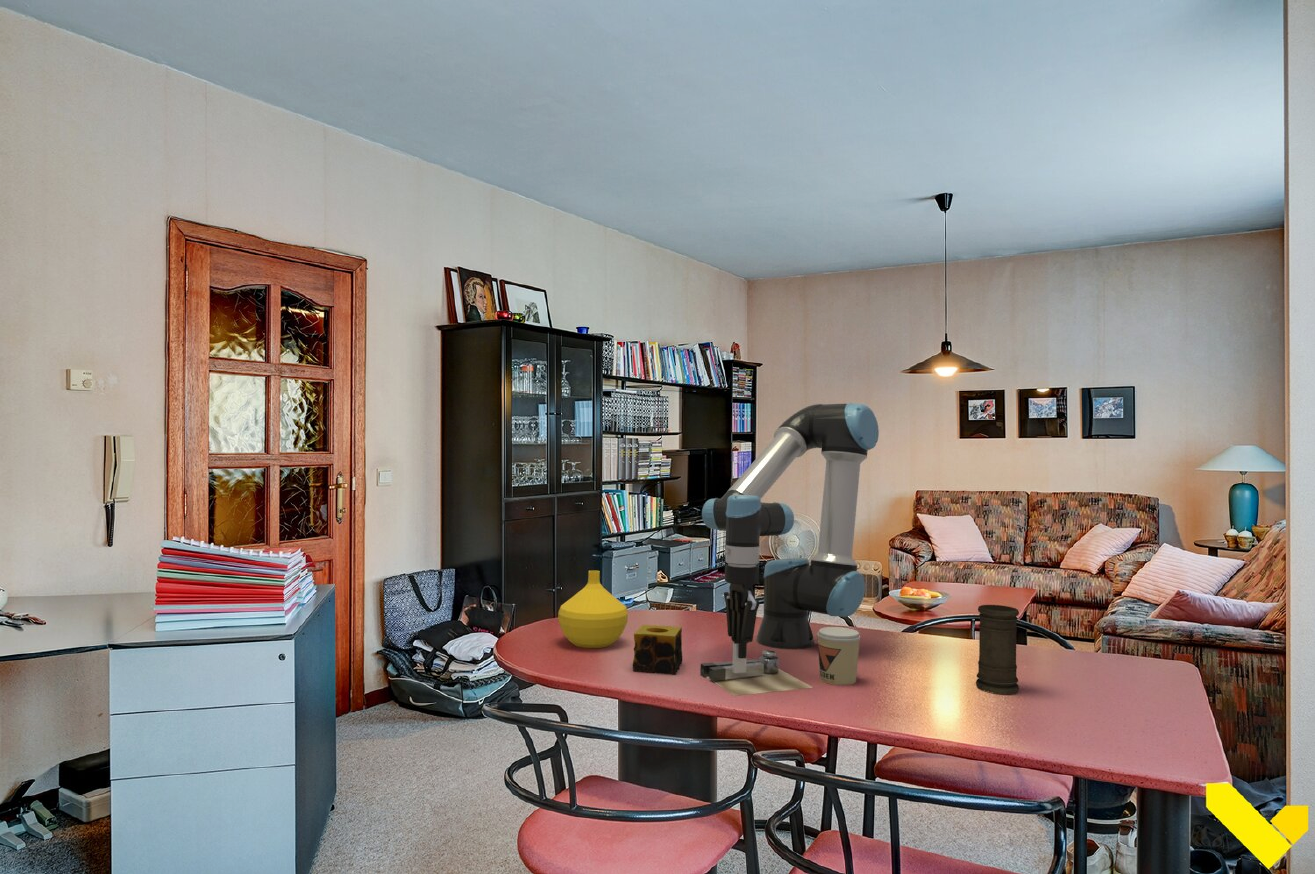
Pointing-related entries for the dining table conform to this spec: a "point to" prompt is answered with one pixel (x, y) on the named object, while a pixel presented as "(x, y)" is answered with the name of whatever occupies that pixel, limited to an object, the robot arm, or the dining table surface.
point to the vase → (593, 616)
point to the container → (997, 649)
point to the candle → (657, 649)
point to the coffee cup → (838, 655)
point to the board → (761, 684)
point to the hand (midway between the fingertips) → (739, 671)
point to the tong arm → (727, 673)
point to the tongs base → (769, 663)
